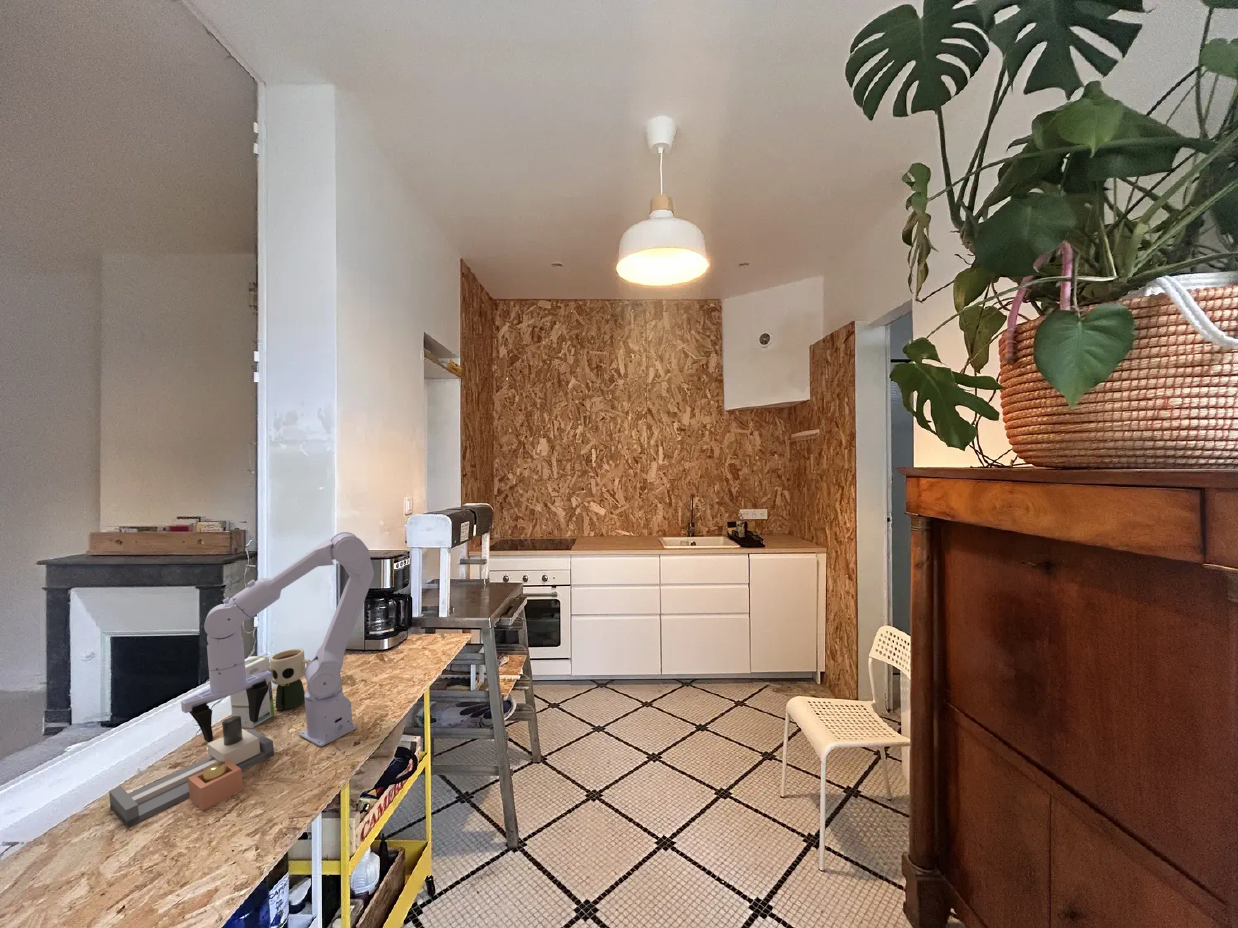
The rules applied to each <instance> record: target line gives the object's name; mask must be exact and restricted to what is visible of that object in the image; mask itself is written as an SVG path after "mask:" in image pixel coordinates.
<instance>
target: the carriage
mask: <svg viewBox="0 0 1238 928" xmlns="http://www.w3.org/2000/svg"><path fill="white" fill-rule="evenodd" d="M221 723H222V724H221V726H222V727H221V728H222V737H219V738H217V739H214V740H213V741H211V742H207V743H206V744H207V758H208V757H209V759H210V760H212V759H214V758H215V759H217V760H218V761H219V762H221V761H226V760H229V761H231V762H232V763H234V764H235V765H236V764H238V763H240V762H243V761H245V760H247V759H249V758H251V757H253V756H255V755H257V754H259V753H260V743H259V738H257V737H256V736H254V735H252V734H251V733H249V732H247V730H245V728H242V725H241V716H233V717H232V716H229V717H227V718H226V719H224V720H223V721H221Z"/></svg>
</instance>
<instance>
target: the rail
mask: <svg viewBox="0 0 1238 928" xmlns="http://www.w3.org/2000/svg"><path fill="white" fill-rule="evenodd" d="M246 731H247V732H249V733H251V734H252V735H254V736H256V737H257V738H259V743H260V753H259V754H257V755H255V756H253V757H251V758H249V759H247V760H245V761H243V762H240V763H238V764H236V766H238V767H239V768H241V771H242V772H243V771H245V770H246V769H249V768H251V767H253V766H255V765H258V764H259V763H261V762H262V761H265V760H267V759H269V758H271V757H273V756H275V749H274V740H272V739H270V738H269V737H267V736H266V735H263V734H262V733H260V732H258V731H257V730H255V729H254V728H248V730H246ZM216 762H219V761H218V760H217V759H215V758H214V759H212V760H210V759H209V757H208V756H207V757H206V758H204V759H202V760H199V761H197V762H195V763H193V764H191V765H188V766H186V767H184V768H182V769H179V770H177V771H175V772H173V773H171V774H169V775H167V776H164V777H162V778H160V779H157V780H156V781H153V782H150V783H148V784H146V785H145V786H142V787H140V788H138V789H137V788H136V790H133V791H131V792H129V793H128V792H127V791H126V790H125V789H124V787H123V786H122V785H120V786H118V787H117V786H116V787H114V788H113V789H111V790H108V792H109V793H108V795H109V805H110V809H111V810H112V811H113V812H114V813H115V815H116V816H117V818H119V819H120V820H121V822H122V823H123V824H124V825H125V827H126V828H129V827H131V826H133V825H134V826H135V824H137V823H139V822H141V821H144V820H146V819H148V818H150V817H151V816H154V815H156V814H158V813H160V812H162V811H164V810H166V809H168V808H170V807H172V806H174V805H176V804H178V803H181V802H182V801H184V800H187V799H188V798H190V796H189V784H188V778H189V777H191V776H194V775H196V774H198V773H200V772H202V771H203V770H204V769H205V768H206V767H207V766H209V765H211V764H213V763H216Z"/></svg>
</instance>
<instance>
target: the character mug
mask: <svg viewBox="0 0 1238 928" xmlns="http://www.w3.org/2000/svg"><path fill="white" fill-rule="evenodd" d="M310 661H311V659H310V658H309V659H308V658H307V659H306V658H305V651H304V649H302V648H290V649H285V650H282V651H279V652H276V653H275V654H273V655H271V656H270V657H269V663H270V672H271V676H272V681H271V683H273V684H274V685H276V686H277V687H276V692H275V708H276V710H280V711H281V710H282V707H284V709H285V710H289V709H293V708H295V707H298V706H300V705H301V704H302V703H303V702H305V697H304V695H305V693H306V691H305V689H304V685H303V681H302V678H303V677H305V674H304V673H305V668H306V666H307V665H308V663H309V662H310Z"/></svg>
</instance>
